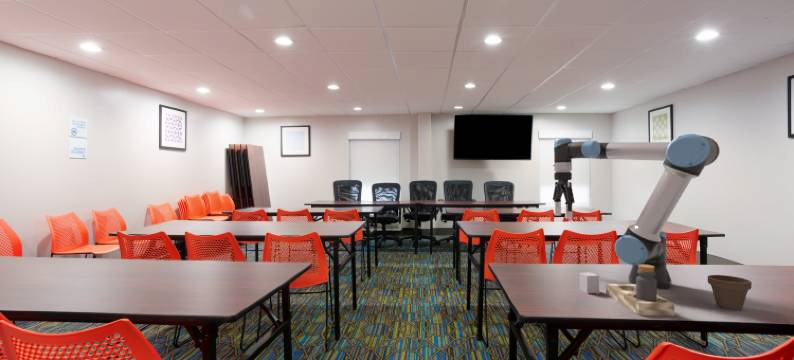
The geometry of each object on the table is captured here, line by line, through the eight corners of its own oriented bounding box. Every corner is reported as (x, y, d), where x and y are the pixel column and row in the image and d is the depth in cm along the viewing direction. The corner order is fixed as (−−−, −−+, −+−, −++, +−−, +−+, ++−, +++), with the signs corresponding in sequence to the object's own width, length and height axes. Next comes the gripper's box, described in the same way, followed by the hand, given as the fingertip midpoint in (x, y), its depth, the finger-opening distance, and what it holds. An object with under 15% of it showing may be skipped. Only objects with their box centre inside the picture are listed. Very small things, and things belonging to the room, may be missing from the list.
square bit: (591, 289, 150) (591, 272, 150) (599, 293, 145) (599, 275, 145) (579, 290, 150) (579, 272, 150) (587, 293, 145) (587, 276, 145)
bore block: (635, 294, 143) (635, 284, 143) (674, 315, 121) (674, 303, 121) (606, 294, 144) (605, 283, 144) (639, 315, 122) (639, 303, 122)
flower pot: (714, 299, 137) (714, 272, 136) (756, 308, 127) (756, 279, 127) (702, 305, 130) (702, 277, 130) (745, 315, 121) (745, 285, 121)
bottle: (653, 307, 129) (653, 264, 129) (659, 313, 124) (659, 268, 123) (634, 305, 131) (633, 263, 131) (638, 311, 125) (638, 267, 125)
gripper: (545, 172, 187) (546, 214, 187) (564, 171, 162) (565, 220, 162) (561, 171, 186) (561, 214, 186) (582, 171, 161) (582, 220, 161)
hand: (563, 217), depth 174 cm, fingers open, 13 cm apart
